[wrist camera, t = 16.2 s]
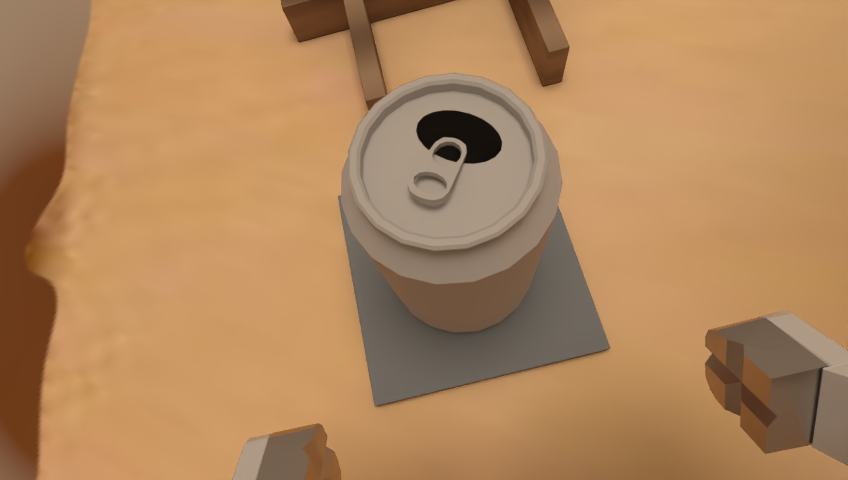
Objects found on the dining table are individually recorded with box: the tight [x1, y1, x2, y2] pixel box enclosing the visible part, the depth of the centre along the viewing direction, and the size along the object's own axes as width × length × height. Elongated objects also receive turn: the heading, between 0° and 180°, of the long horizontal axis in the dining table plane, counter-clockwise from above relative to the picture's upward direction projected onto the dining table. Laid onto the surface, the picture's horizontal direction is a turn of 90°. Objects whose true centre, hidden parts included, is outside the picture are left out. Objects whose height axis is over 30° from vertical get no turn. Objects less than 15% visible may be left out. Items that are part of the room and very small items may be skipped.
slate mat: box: [338, 196, 610, 406], centre depth 26 cm, size 12×12×1 cm
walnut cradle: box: [281, 0, 570, 110], centre depth 30 cm, size 10×20×3 cm, turn 103°
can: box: [341, 73, 562, 333], centre depth 20 cm, size 8×8×12 cm
